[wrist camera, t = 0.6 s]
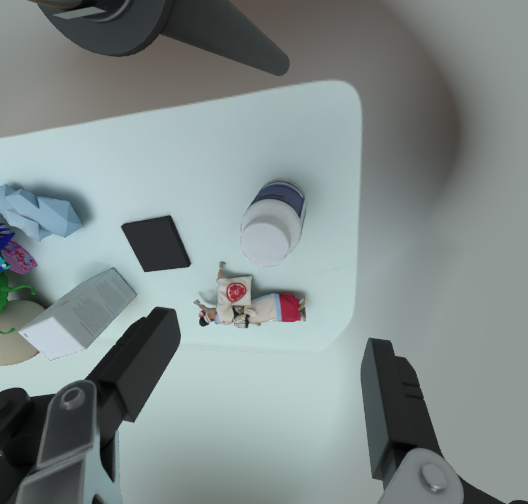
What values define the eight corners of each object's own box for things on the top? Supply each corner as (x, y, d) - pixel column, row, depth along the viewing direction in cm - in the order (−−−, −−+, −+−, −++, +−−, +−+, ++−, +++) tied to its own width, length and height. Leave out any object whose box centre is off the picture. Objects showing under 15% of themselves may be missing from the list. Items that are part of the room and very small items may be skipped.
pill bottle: (251, 183, 29) (221, 219, 21) (301, 173, 28) (290, 207, 19) (264, 229, 32) (241, 277, 23) (310, 222, 30) (304, 270, 22)
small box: (105, 308, 45) (49, 362, 36) (80, 282, 43) (15, 332, 34) (138, 295, 41) (86, 350, 32) (113, 266, 39) (51, 316, 30)
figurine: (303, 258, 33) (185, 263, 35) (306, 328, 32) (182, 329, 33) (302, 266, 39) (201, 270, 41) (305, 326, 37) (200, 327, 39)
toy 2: (-73, 381, 37) (-1, 379, 46) (15, 348, 38) (68, 352, 47) (-64, 312, 41) (0, 322, 50) (16, 284, 42) (65, 299, 51)
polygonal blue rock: (42, 222, 41) (5, 243, 37) (10, 177, 37) (-36, 194, 33) (101, 234, 36) (64, 258, 32) (72, 182, 32) (26, 204, 28)
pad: (124, 223, 35) (120, 226, 35) (170, 215, 33) (167, 217, 33) (147, 269, 38) (144, 272, 38) (191, 263, 36) (188, 267, 36)
